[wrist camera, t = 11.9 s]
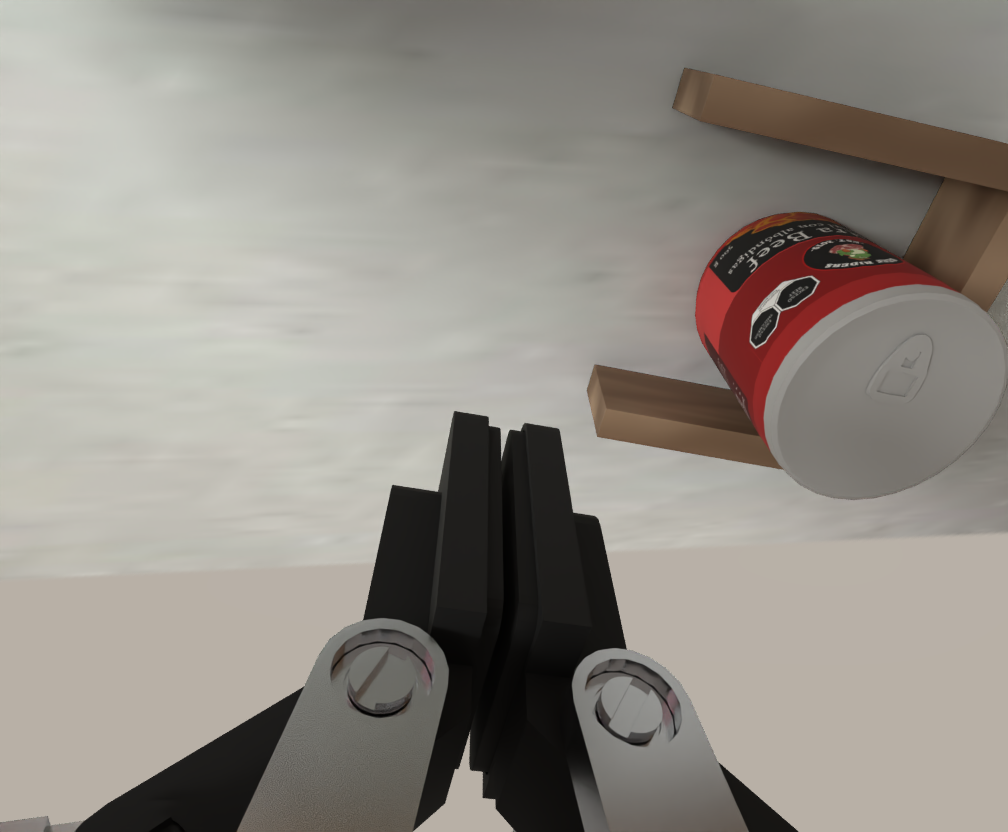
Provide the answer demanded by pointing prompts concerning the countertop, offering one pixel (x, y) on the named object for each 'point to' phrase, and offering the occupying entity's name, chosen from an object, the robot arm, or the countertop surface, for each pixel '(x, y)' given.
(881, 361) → the canned food
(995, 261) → the walnut holder
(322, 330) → the countertop surface
